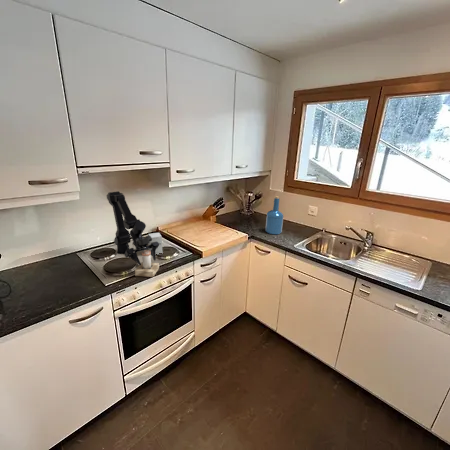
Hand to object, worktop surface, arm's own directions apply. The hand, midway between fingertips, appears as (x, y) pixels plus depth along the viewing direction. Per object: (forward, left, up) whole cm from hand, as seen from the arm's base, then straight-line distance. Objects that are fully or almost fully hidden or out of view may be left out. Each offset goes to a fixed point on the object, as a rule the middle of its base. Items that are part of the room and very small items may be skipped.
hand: (148, 262), depth 142 cm
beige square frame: (-1, +1, -7) cm, 7 cm away
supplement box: (-5, +26, -7) cm, 27 cm away
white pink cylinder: (-1, +1, -6) cm, 6 cm away
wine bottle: (+76, +78, -7) cm, 109 cm away
